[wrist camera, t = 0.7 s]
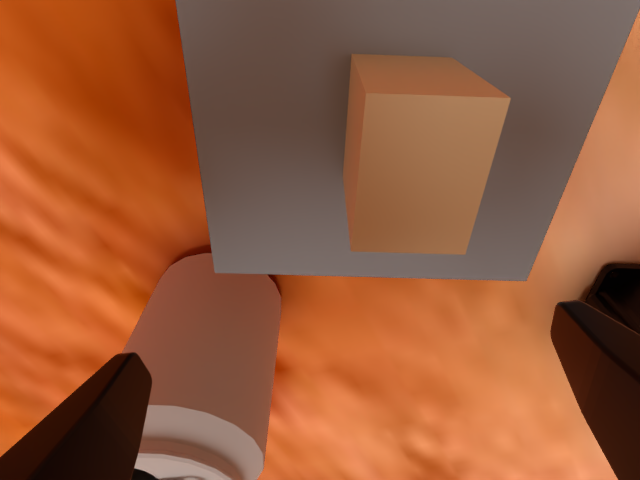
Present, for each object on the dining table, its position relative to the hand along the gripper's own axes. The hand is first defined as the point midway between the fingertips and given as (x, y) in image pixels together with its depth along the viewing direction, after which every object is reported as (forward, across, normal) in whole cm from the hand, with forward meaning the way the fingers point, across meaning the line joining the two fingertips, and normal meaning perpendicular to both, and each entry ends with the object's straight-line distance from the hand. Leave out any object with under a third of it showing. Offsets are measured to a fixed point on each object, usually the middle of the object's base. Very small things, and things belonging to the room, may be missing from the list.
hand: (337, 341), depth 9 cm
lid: (+8, -2, -2) cm, 9 cm away
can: (+13, +8, +9) cm, 18 cm away
